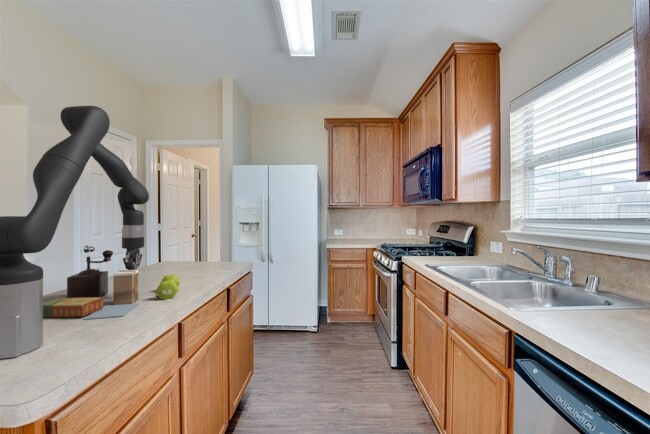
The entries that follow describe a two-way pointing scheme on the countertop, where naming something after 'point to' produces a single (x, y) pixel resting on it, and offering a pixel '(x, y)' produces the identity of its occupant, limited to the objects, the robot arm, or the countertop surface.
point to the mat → (112, 311)
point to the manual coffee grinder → (89, 280)
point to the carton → (72, 307)
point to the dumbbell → (168, 287)
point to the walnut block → (125, 287)
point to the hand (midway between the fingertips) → (132, 278)
